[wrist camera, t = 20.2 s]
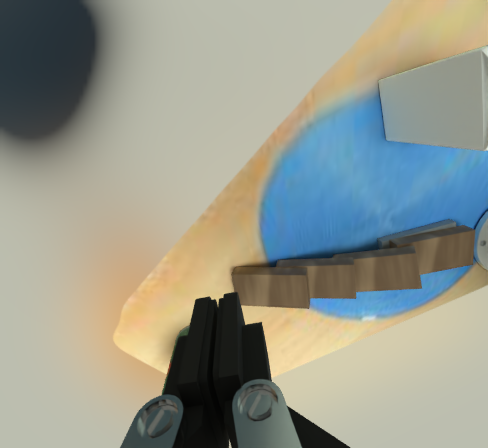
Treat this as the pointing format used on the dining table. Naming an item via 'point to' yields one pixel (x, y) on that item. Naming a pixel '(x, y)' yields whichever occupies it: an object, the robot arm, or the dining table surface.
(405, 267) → the walnut domino
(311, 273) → the walnut domino
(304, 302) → the walnut domino
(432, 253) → the walnut domino
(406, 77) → the milk carton
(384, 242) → the charcoal domino
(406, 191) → the dining table surface
